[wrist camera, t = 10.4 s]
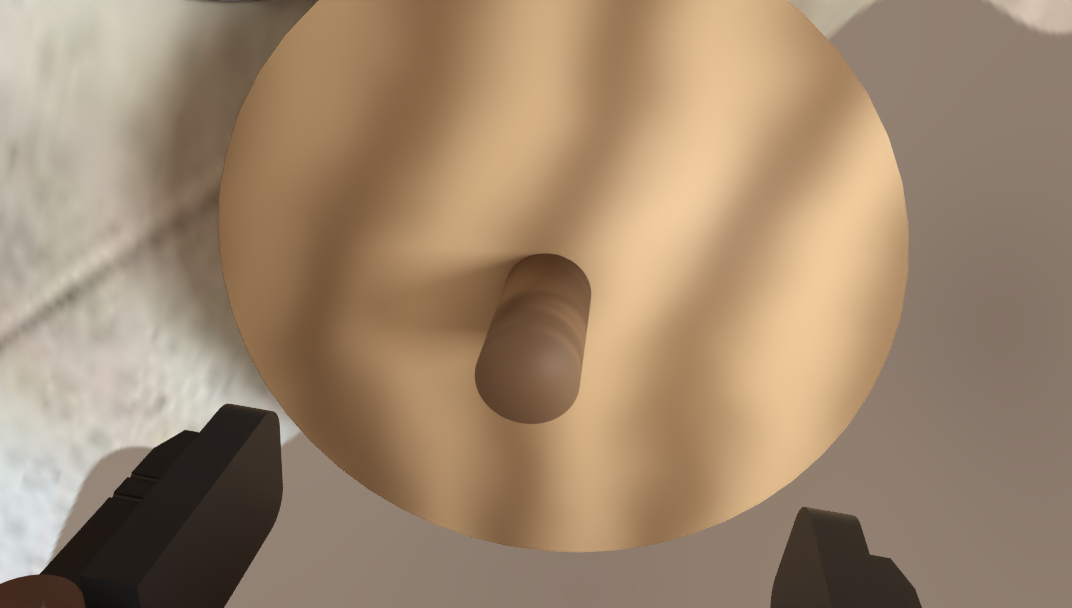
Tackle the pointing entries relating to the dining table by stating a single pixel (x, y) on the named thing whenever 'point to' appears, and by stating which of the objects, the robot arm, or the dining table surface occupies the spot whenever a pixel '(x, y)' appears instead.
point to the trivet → (233, 0)
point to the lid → (564, 256)
